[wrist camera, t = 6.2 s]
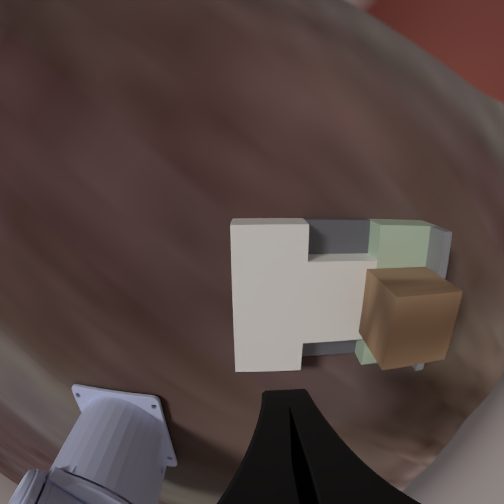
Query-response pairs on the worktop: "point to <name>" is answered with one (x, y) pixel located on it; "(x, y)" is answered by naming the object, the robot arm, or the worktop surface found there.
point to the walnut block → (408, 315)
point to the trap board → (316, 283)
